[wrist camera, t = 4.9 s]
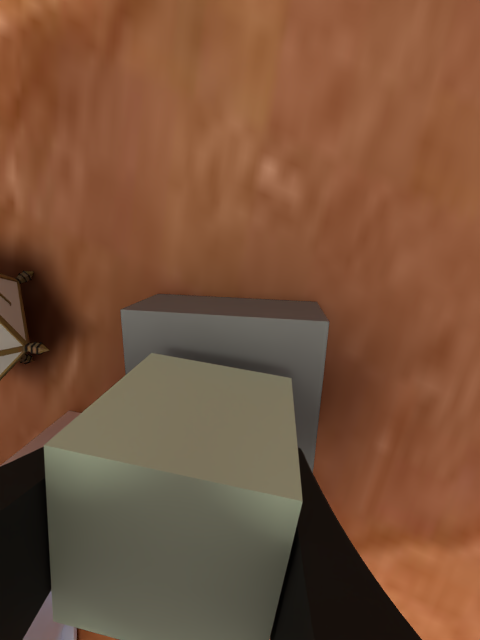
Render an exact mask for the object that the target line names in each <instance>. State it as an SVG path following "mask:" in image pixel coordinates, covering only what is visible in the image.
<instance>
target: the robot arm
mask: <svg viewBox="0 0 480 640" xmlns="http://www.w3.org/2000/svg"><path fill="white" fill-rule="evenodd" d="M298 456H299V467H300V478H301V489H302V500H303V502H302V506H301V510H300V514H299V518H298V523H297V527H296V531H295V535H294V539H293V543H292V548H291V552H290V556H289V560H288V564H287V568H286V572H285V577H284V581H283V585H282V589H281V593H280V597H279V602H278V606H277V610H276V614H275V618H274V622H273V626H272V631H271V635H270V640H422V639H421V638H420V637H419V635H418V634H417V633H416V632H415V630H414V629H413V628H412V627H411V625H410V624H409V623H408V622H407V620H406V619H405V618H404V617H403V615H402V614H401V613H400V612H399V610H398V609H397V608H396V606H395V605H394V604H393V602H392V601H391V600H390V598H389V597H388V596H387V594H386V593H385V591H384V590H383V589H382V587H381V586H380V584H379V583H378V582H377V580H376V579H375V577H374V576H373V574H372V573H371V572H370V570H369V569H368V567H367V566H366V564H365V563H364V561H363V560H362V558H361V557H360V555H359V554H358V552H357V551H356V549H355V548H354V546H353V544H352V543H351V541H350V540H349V538H348V536H347V535H346V533H345V531H344V530H343V528H342V527H341V525H340V523H339V521H338V520H337V518H336V516H335V515H334V513H333V511H332V509H331V507H330V506H329V504H328V502H327V500H326V498H325V496H324V495H323V493H322V491H321V489H320V487H319V485H318V483H317V481H316V479H315V477H314V475H313V473H312V471H311V469H310V467H309V464H308V462H307V460H306V458H305V455H304V453H303V451H302V450H301V448H298ZM0 640H77V628H76V627H72V626H68V625H65V624H61V623H58V622H54V621H53V610H52V591H51V572H50V553H49V535H48V516H47V497H46V479H45V460H44V447H42V448H39V449H37V450H35V451H33V452H31V453H29V454H27V455H24V456H22V457H20V458H18V459H16V460H14V461H12V462H9V463H7V464H5V465H3V466H0Z"/></svg>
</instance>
